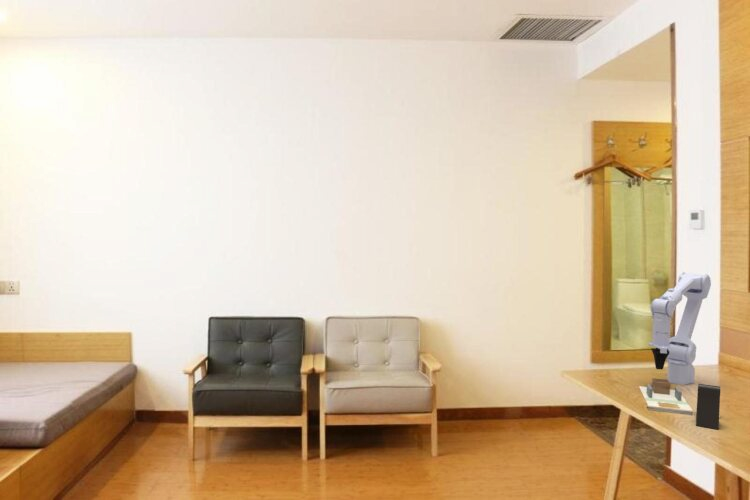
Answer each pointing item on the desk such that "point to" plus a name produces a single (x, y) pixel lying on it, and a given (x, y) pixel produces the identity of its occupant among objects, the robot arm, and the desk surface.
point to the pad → (666, 401)
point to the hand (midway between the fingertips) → (659, 368)
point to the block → (661, 386)
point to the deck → (674, 396)
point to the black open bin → (708, 406)
